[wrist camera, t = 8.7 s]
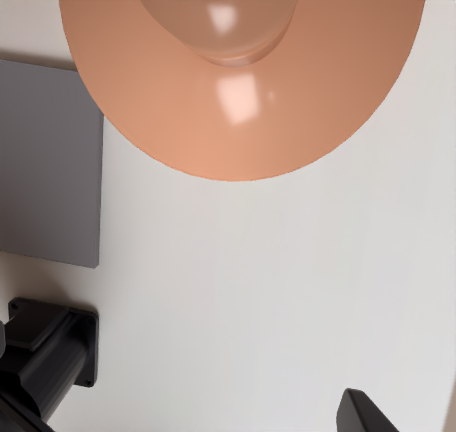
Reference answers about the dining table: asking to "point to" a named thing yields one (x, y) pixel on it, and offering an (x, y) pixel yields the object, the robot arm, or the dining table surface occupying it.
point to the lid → (239, 75)
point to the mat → (49, 164)
